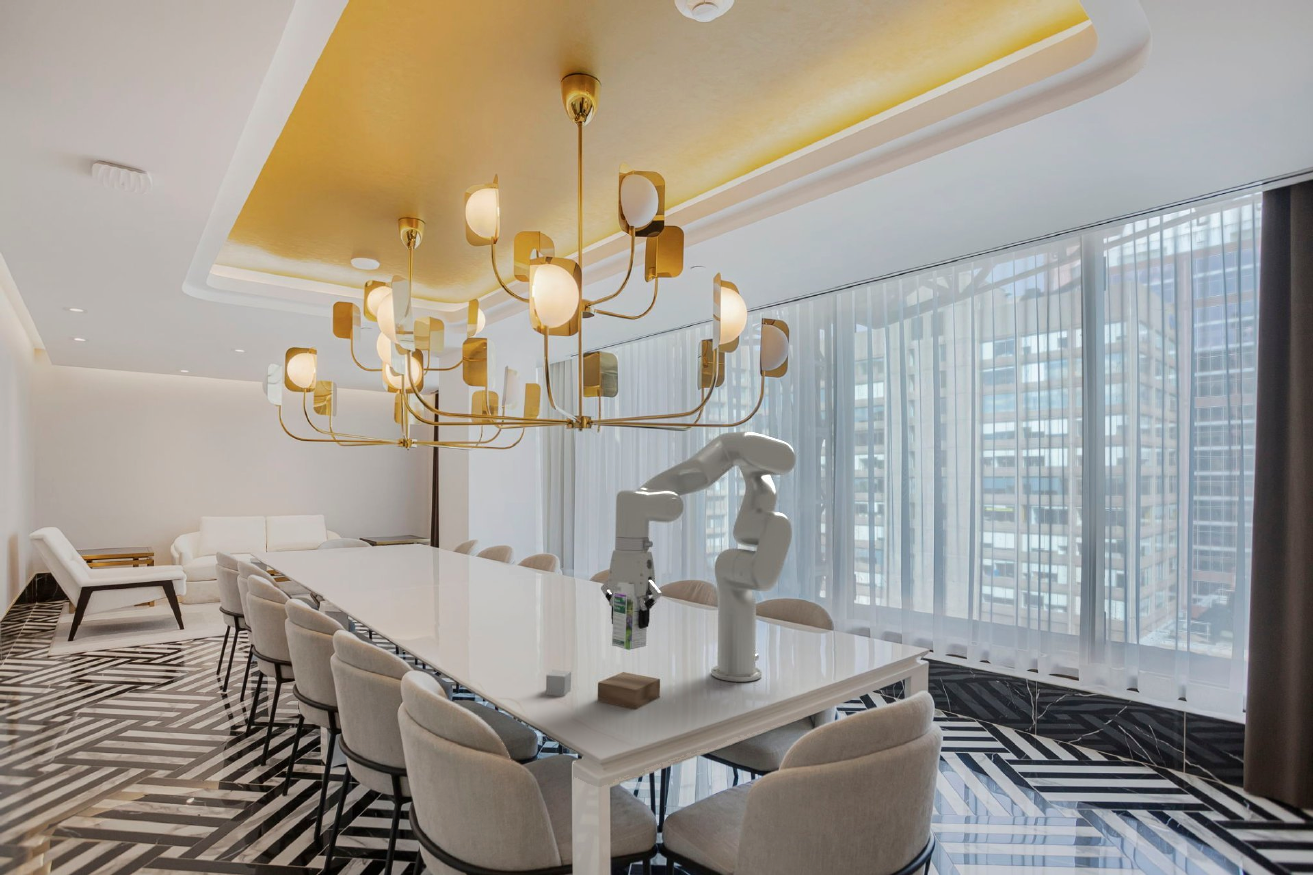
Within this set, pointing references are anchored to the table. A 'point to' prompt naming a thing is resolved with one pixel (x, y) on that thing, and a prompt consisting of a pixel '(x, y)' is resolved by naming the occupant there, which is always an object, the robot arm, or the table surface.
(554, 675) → the grey stone cube
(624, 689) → the walnut base
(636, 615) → the syrup box
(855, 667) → the table surface
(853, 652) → the table surface
